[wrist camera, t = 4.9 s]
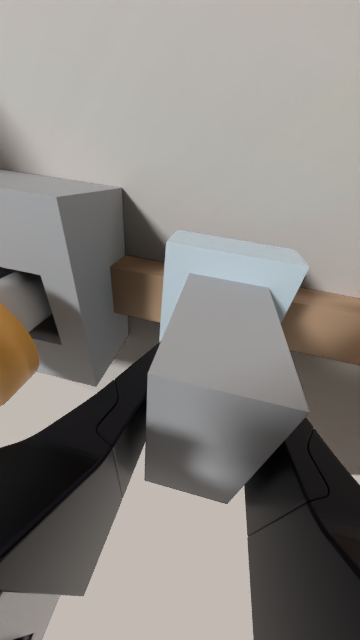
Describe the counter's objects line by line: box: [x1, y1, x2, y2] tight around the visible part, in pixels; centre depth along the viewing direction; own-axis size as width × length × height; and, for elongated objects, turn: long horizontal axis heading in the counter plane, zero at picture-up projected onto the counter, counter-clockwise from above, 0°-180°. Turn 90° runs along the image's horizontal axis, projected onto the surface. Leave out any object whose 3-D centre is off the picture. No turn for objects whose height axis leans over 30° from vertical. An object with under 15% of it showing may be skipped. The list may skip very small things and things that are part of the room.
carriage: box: [145, 230, 310, 504], centre depth 8 cm, size 5×8×7 cm, turn 173°
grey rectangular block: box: [0, 169, 129, 387], centre depth 12 cm, size 7×10×5 cm
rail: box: [110, 255, 360, 365], centre depth 12 cm, size 16×3×2 cm, turn 83°
